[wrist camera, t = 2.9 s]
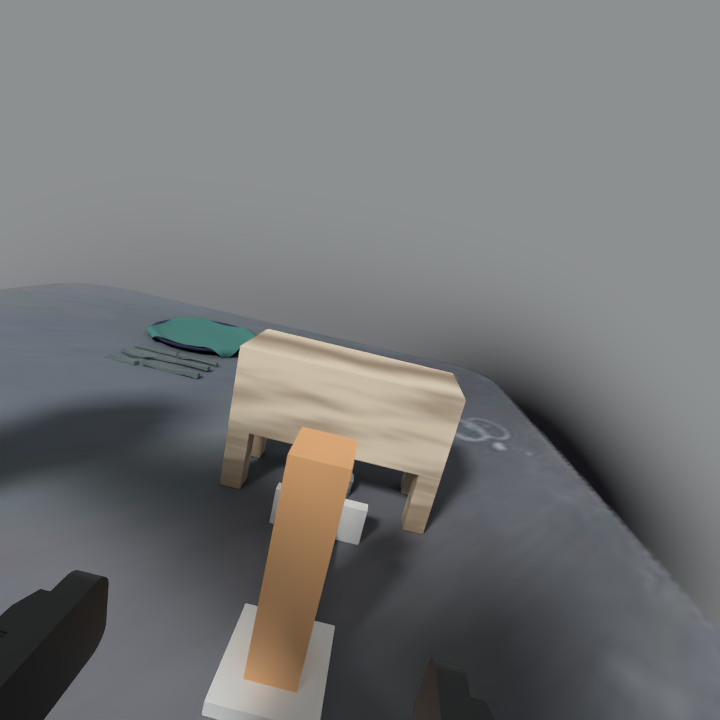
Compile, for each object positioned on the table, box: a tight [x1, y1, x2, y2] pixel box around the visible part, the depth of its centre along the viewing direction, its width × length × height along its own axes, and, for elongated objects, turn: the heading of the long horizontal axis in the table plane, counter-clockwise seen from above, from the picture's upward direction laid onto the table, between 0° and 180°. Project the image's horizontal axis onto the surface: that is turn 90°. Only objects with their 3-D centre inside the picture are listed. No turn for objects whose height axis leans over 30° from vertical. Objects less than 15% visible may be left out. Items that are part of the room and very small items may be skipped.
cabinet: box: [220, 329, 466, 535], centre depth 41 cm, size 10×20×14 cm, turn 85°
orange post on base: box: [202, 426, 368, 720], centre depth 27 cm, size 16×8×15 cm, turn 175°
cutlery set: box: [105, 317, 257, 379], centre depth 75 cm, size 20×30×2 cm, turn 174°
